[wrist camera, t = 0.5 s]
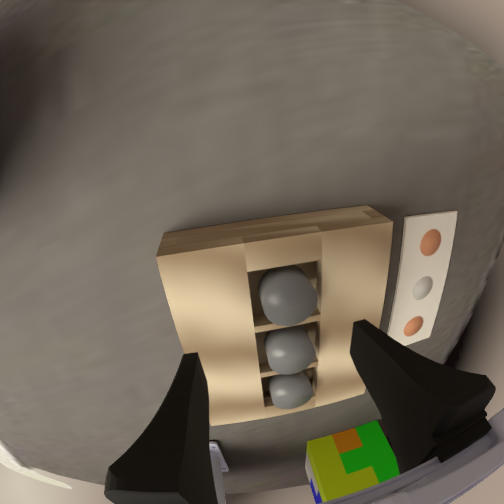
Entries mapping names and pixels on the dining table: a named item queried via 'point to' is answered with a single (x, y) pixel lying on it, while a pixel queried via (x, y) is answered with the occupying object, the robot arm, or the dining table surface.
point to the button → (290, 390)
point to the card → (421, 275)
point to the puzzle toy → (349, 462)
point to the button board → (251, 310)
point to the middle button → (289, 349)
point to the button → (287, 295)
